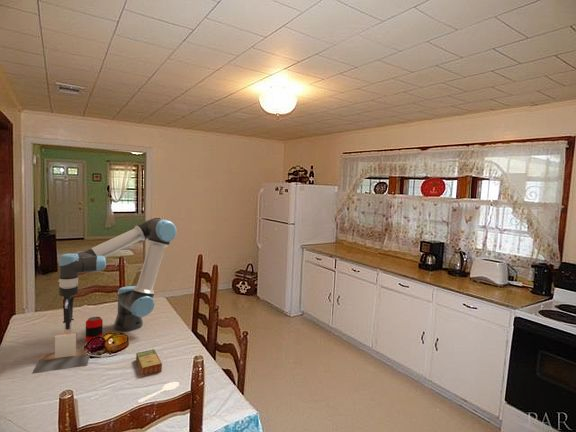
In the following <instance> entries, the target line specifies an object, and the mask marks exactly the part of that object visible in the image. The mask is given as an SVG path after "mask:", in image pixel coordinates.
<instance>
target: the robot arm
mask: <svg viewBox="0 0 576 432" xmlns="http://www.w3.org/2000/svg"><path fill="white" fill-rule="evenodd" d="M177 231H178V230H177V226H176V225H175V224H174V223H173V221H171V220H168V219H163V218H158V217H157V218H151V219H148V220H146V221H143V222H141V223H139V224H136V225H135V226H134V228H133V229H130V230H128V231H126V232H123V233H122V234H119V235H117V236H114V237H113V238H111V239H108V240H106V241H104V242H101V243H100V244H98V245H95V246H93V247H91V248H89V249H87V250H86V249H85V250H82V251H81V250H79V251H78V252H76V253H69V252H68V253H63V254H61V255H60V256H59V262H58V266H59V267H58V268H59V272H58V275H59V278H58V279H59V280H57V283H59V288H58V295H59V296H60V297H64V298H63V299H62V309H63V321H62V324H64V334H70V333H73V332H72V331H73V330H72V329H73V328H72V327H73V321H74V318H73V312H74V311H73V310H74V308H73V307H74V301H75V297H74V296H76V295H78V293H79V286H78V285H79V274H81V273H82V274H83V273H92V272H99V271H100V272H101V271H104V270H105V269H106V267H107V259H106V258H107V257H108V256H111V255H112V254H115V253H117V252H119V251H122V250H123V249H125V248H127V247H130V246H131V245H134V244H136V243H138V242H140V241H146V240H147V241H148V243H149V245H148V249H147V251H146V255H145V259H144V261H143V265H142V267H141V271H140V274H139V276H138V277H139V278H138V281H137V283H136V285H128V286H123V287H120V288H118V290H117V314H116V316H115V320H114V323H113V329H114V330H116V331H120V332H129V331H134V330H138V329H140V328H142V327H143V322H144V321H143V318H144V317H147V316H148V315H150V314H151V313H152V312H153V310H154V309H155V304H156V303H155V300H154V296H155V291H154V286H155V283H156V280H157V277H158V273H159V270H160V266H161V263H162V259H163V256H164V254H165V249H166V248H167V247H169V246H170V243H171V241H173V240H174V239H175V238H176V236H177V233H178V232H177Z"/></svg>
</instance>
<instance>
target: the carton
mask: <svg viewBox="0 0 576 432" xmlns="http://www.w3.org/2000/svg"><path fill="white" fill-rule="evenodd" d="M135 358H136V359H135V361H136V363H137V366H138V368H139V371H140V374H141V376H142V377H145V376H150V375H153V374H158V373H162V369H163V363H162V361H161V359H160V357H159V355H158V354H157V352H156V349H149V350H144V351H138V352H136V357H135ZM149 374H150V375H149Z"/></svg>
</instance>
